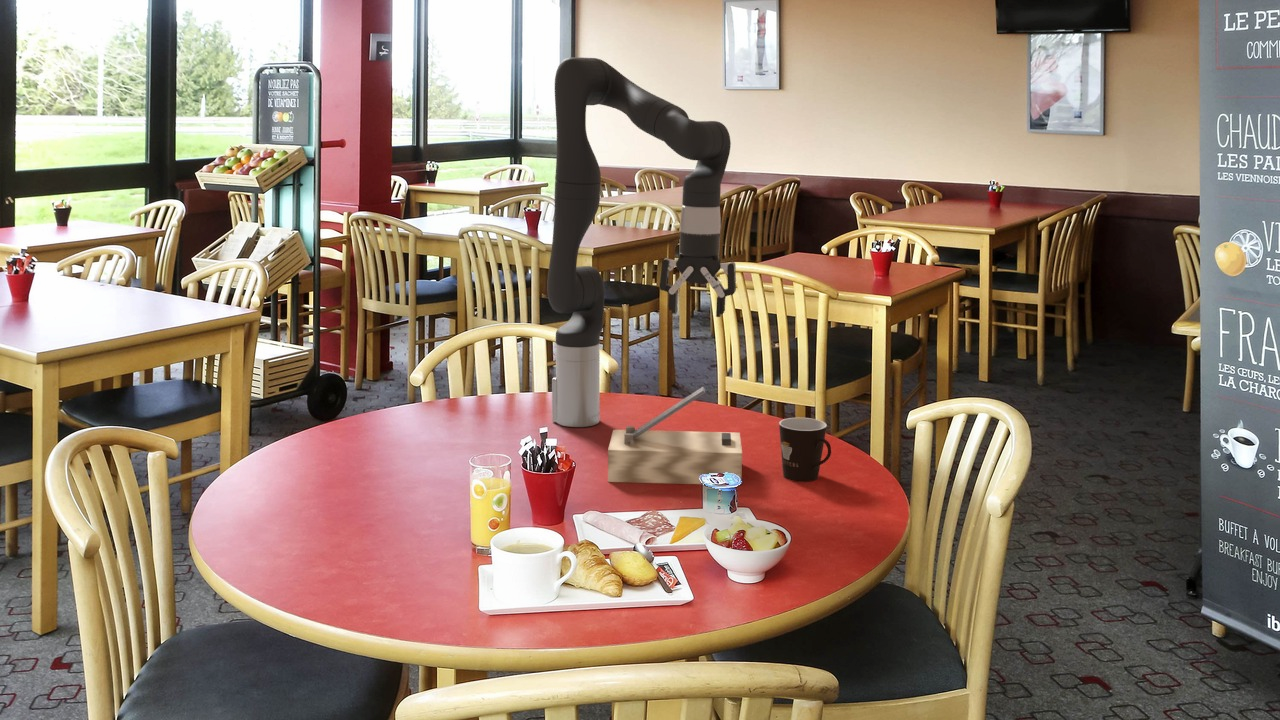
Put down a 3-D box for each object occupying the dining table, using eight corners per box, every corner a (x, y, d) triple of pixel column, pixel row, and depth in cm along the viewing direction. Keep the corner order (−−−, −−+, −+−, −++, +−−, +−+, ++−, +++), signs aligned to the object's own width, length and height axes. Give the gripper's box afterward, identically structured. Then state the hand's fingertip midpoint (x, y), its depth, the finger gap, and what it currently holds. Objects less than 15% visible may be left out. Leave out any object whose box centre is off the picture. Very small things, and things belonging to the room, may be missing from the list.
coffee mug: (772, 469, 216) (774, 417, 214) (818, 468, 217) (820, 417, 215) (785, 489, 205) (787, 435, 203) (833, 489, 206) (836, 435, 203)
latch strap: (632, 440, 211) (630, 437, 211) (633, 435, 214) (631, 432, 214) (704, 393, 209) (703, 390, 209) (704, 389, 212) (703, 386, 212)
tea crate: (607, 481, 208) (608, 440, 207) (613, 459, 221) (613, 420, 219) (741, 485, 207) (742, 443, 205) (738, 462, 220) (739, 423, 218)
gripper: (658, 230, 214) (656, 316, 217) (735, 234, 211) (731, 321, 215) (666, 225, 221) (663, 308, 225) (740, 229, 218) (736, 313, 222)
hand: (696, 314), depth 220 cm, fingers open, 8 cm apart
